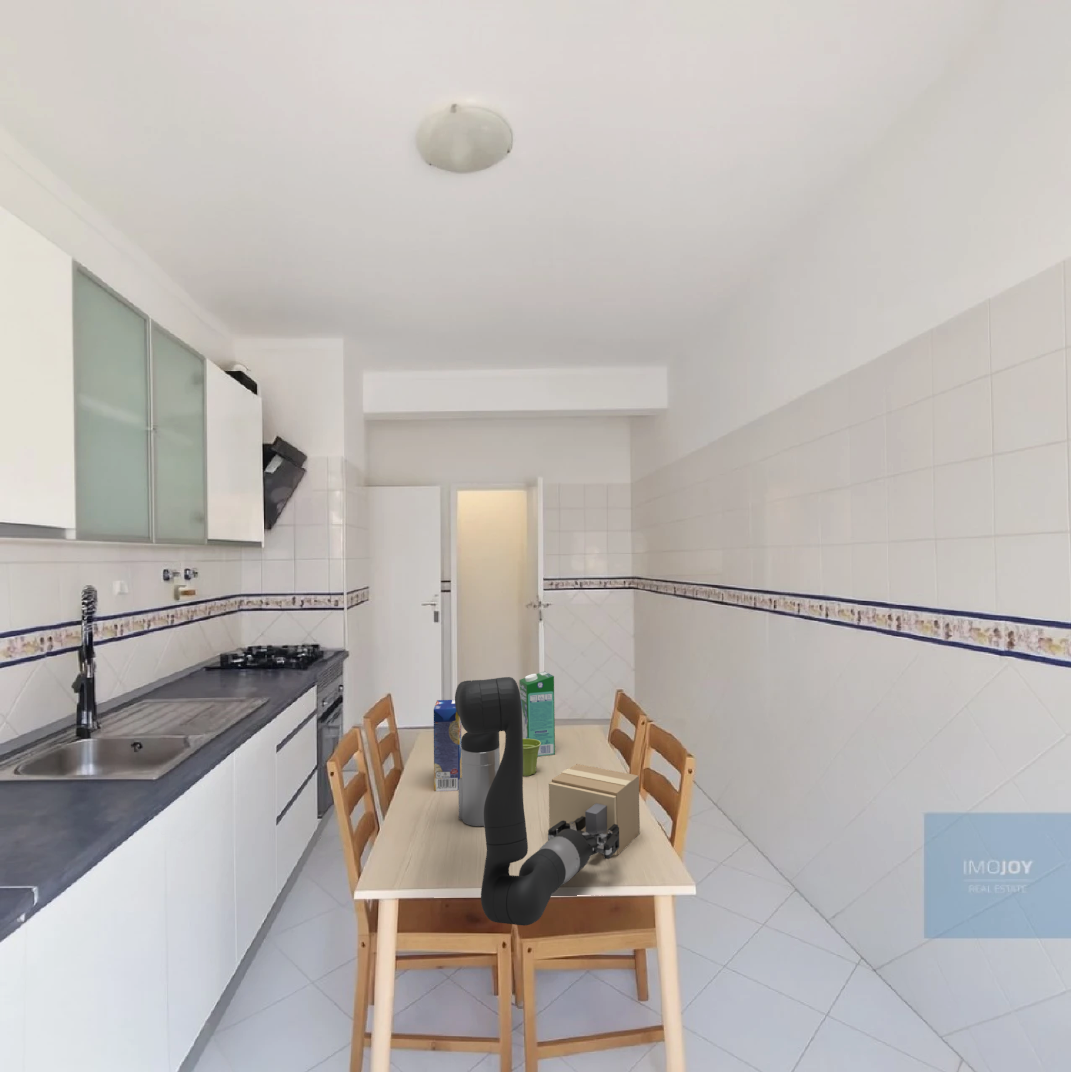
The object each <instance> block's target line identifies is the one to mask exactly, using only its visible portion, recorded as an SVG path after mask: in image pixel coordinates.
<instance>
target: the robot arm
mask: <svg viewBox="0 0 1071 1072" xmlns="http://www.w3.org/2000/svg"><path fill="white" fill-rule="evenodd" d="M454 700H455V707H456V711H457V714H458V716H459V717H460V721H461V727H462V728H463V729H464V730H465V731H466V732H465V733H464V734H463V735H461V762H462V777H461V778H460V779H459V780H458V790H457V791H458V819H459V820H461V821H462V822H463V823H464V824H466V825H468V826H472V827H484V834H485V836H484V837H485V844H486V852H485V853H486V855H485V861H484V870H483V875H482V876H483V877H482V883H481V889H480V890H481V891H480V903H481V908H482V910H483V912H484V915H485V917H486V918H487V919H488V920H489V921H491V922H493V923H497V924H507V925H514V926H529V925H532V924H534V923H536V922H537V921H539V920H540V919H541V918H542V916H543V914H544V912H545V910H546V908H547V906H548V903H549V901H550V899H551V897H552V895H553V894H554V893H555V892H556V891H557V890H559V888H560V887H561V886H563V885H565V884H566V883H568V882H569V881H570V880H571V879H573V877H574V876H575V875H577V874H578V873H579V872H580V871H581V870H582V869H583V868H584V867H585V866H586V865H587V864H588V863H589V860H590V858H591V856H595V855H597V854H602V855H603V859H605V860H609V859H610V858H612V856H614V855H613V854H614V853H615V852H616V851H617V850H618V849H619V827H618V825H617V824H614V825H612V826H611V827H610V828H609V829H608V830H607V831H604V832H601V831H600V830H598V831H594V832H590V833H588V832H584V831H581V830H582V829H583V828H584V827H585V826H586V819H585V817H584V816H581V817H580V818H577V819H576V820H575V821H570V822H569V823H566V821H564V820H563V821H560V822H559V823H557V824H556V825H554V826H553V827H552V828H550V829H547V832H548V833H547V838H548V839H547V841H546V842H545V843H544V844H542V846H541V847H539V849H538V850H537V851H536V852H535V853H534V854H532V855H530V857H528V858H527V859H526V860H525V861H524V862H523V863H522V864H521V866H520V868H519V872H518V875H512V874H511V875H510V866H511V864H512V863H515V862H519V861H521V860H523V859H524V858H525V857H526V856H527V854H528V851H529V846H528V836H527V835H528V834H527V825H526V816H525V807H524V787H523V786H524V780H523V779H524V776H523V727H522V705H521V697H520V687H519V686H518V683H517V681H516V680H515V678H513V677H510V676H505V677H496V678H488V679H472V680H471V679H470V680H464V681H461V682H459V684H458V685H457V687H456V690H455V694H454ZM500 732H504V734H505V740H504V741H505V742H504V750H503V754H502V758H501V761H500V757H501V756H500V755H501V754H500ZM606 836H607V841H604V837H606ZM595 837H597V841H596V838H595ZM597 852H598V853H597ZM596 853H597V854H596Z"/></svg>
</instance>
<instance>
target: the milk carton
mask: <svg viewBox="0 0 1071 1072" xmlns="http://www.w3.org/2000/svg"><path fill="white" fill-rule="evenodd" d="M518 684H519V692H520V697H521V705H522V727H523V739H536V740H539V741H540V742H541V745H540V747H539V750H538V757H544V756H545V757H546V756H552V755H556V740H555V739H556V735H555V734H556V733H555V732H556V731H555V730H556V729H555V728H556V727H555V726H556V725H555V721H556V719H555V676H554V675H553V674H552V673H551V674H550V672H548V671H545V670H544V671H541V672H538V673H531V674H528V675H526V676H525V677H524V678H521V679H519V683H518Z"/></svg>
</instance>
